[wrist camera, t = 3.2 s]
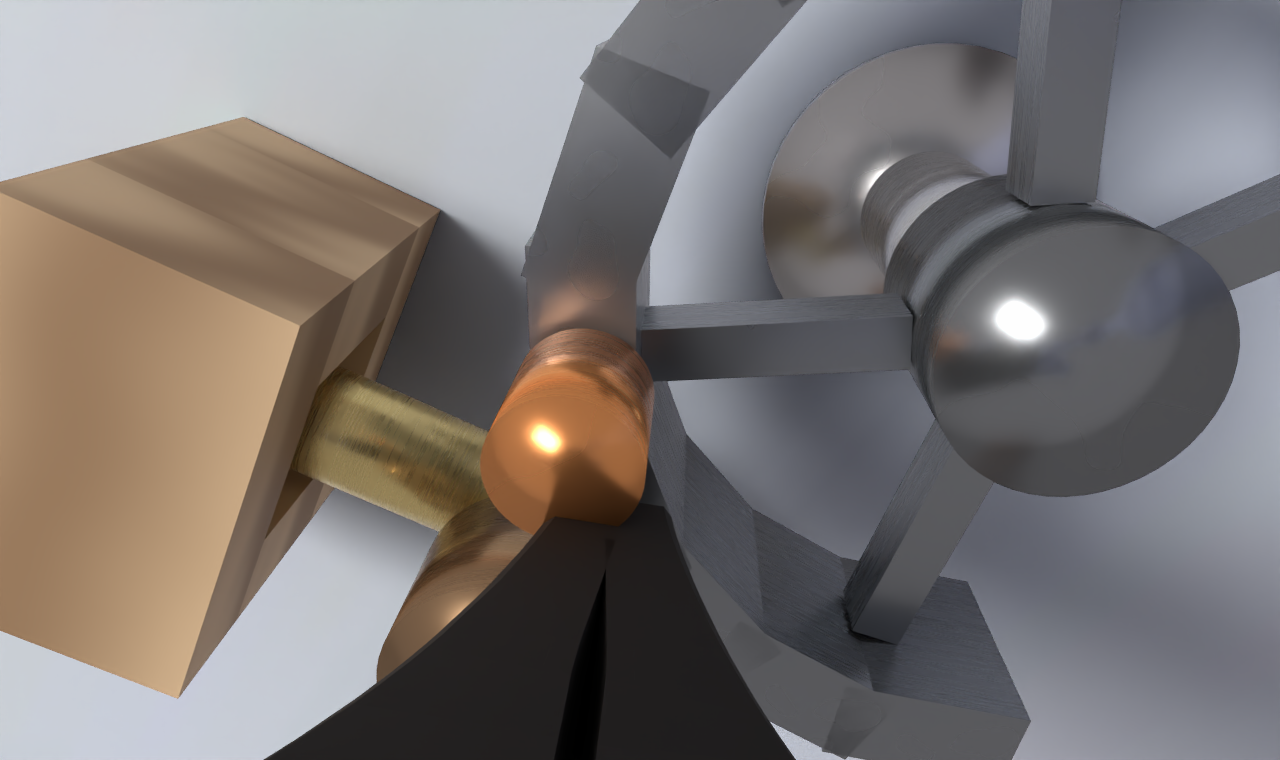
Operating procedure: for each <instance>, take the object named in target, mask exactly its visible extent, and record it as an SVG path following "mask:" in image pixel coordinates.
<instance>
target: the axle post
mask: <svg viewBox="0 0 1280 760" xmlns="http://www.w3.org/2000/svg"><path fill="white" fill-rule="evenodd" d="M1016 66H1017V59H1016V58H1014V57H1011V56H1009V55H1007V54H1005V53H1002V52H998V51H995V50H991V49H987V48H984V47H980V46H973V45H965V44H957V43H930V44H923V45H917V46H910V47H905V48H902V49H899V50H895V51H892V52H888V53H885V54H882V55H880V56H878V57H876V58H873V59H871V60H869V61H866V62H864V63H862V64H860V65H859V66H857V67H855V68H854V69H852V70H850V71H848V72H847V73H845V74H843V75H842V76H841V77H839V78H838V79H837V80H836V81H834V82H833V83H832V84H830V85H829V86H828V87H826V88H825V89H824V90H823V91H822V92H821V93H820V94H819V95H818V96H817V97H816V98H815V99H814V100H813V101H812V102H811V103H810V104H809V105H808V106H807V107H806V108H805V110H804V111H803V112H802V113H801V115H800V116H799V117H798V118H797V120H796V121H795V122H794V123H793V125H792V127H791V128H790V130H789V132H788V133H787V135H786V136H785V138H784V140H783V141H782V143H781V145H780V148H779V150H778V152H777V154H776V156H775V158H774V161H773V163H772V166H771V170H770V173H769V176H768V179H767V182H766V188H765V194H764V199H763V210H762V231H763V241H764V247H765V251H766V256H767V260H768V264H769V268H770V271H771V273H772V276H773V278H774V281H775V283H776V286H777V288H778V290H779V291H780V293H781V295H782V297H783V299H794V298H812V297H831V296H849V295H867V294H883V288H884V280H885V276H886V272H887V268H888V265H889V262H890V260H891V257H892V254H893V252H894V250H895V248H896V247H897V245H898V243H899V241H900V239H901V238H902V236H903V235H904V234H905V232H906V231H907V229H908V228H909V227H910V225H911V224H912V223H913V222H914V221H915V220H916V219H917V218H918V217H919V215H920V214H921V213H923V212H924V211H925V210H926V209H927V208H928V207H929V206H931V205H932V204H933V203H934V202H936V201H937V200H939V199H940V198H942V197H943V196H944V195H946V194H948V193H949V192H951V191H953V190H955V189H957V188H959V187H961V186H963V185H966V184H968V183H971V182H973V181H976V180H979V179H983V178H987V177H991V176H996V175H1004V174H1007V168H1008V157H1009V145H1010V134H1011V123H1012V111H1013V100H1014V89H1015V78H1016Z"/></svg>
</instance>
